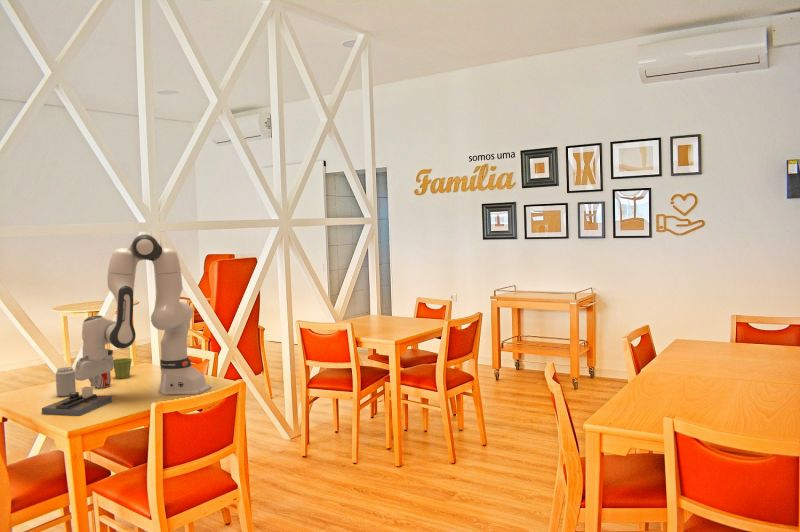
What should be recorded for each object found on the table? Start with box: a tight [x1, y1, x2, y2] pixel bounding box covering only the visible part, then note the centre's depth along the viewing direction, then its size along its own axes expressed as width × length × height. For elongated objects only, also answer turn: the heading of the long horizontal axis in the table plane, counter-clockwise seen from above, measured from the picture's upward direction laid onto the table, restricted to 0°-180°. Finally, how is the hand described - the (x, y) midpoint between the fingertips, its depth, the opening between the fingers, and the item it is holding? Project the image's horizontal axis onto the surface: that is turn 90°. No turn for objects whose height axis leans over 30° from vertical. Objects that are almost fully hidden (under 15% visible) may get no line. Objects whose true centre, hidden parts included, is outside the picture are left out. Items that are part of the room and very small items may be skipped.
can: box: [55, 366, 77, 398], centre depth 281 cm, size 8×8×12 cm
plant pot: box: [113, 357, 133, 380], centre depth 312 cm, size 9×9×9 cm
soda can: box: [94, 371, 112, 389], centre depth 294 cm, size 7×7×12 cm
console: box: [41, 391, 113, 417], centre depth 261 cm, size 17×20×5 cm
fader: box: [81, 386, 94, 398], centre depth 266 cm, size 3×3×4 cm
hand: (94, 385), depth 272 cm, fingers closed
